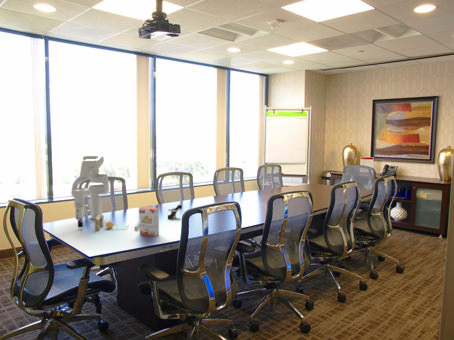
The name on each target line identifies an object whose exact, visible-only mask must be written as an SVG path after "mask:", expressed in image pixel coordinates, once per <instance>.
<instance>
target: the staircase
mask: <svg viewBox="0 0 454 340" xmlns="http://www.w3.org/2000/svg"><path fill="white" fill-rule="evenodd" d="M182 206H183V205H181V204H177V206H176V207H174V208H171V209H170V208H169V209H167V212H170V214H168V215H167V219H168V220H172V219H174V218H176V217H177V212H179V211H182V210H183V207H182Z"/></svg>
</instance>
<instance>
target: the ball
mask: <svg viewBox="0 0 454 340" xmlns="http://www.w3.org/2000/svg"><path fill="white" fill-rule="evenodd" d="M105 226H106V228H107V229H111V228H112V227H113V226H115V225H114V222H113V221H111V220H109V221H107V222H106V224H105Z"/></svg>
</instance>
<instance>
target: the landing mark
mask: <svg viewBox="0 0 454 340" xmlns="http://www.w3.org/2000/svg"><path fill="white" fill-rule="evenodd" d="M128 228H129V225H127V224H126V225H114V226H113V227H112V228H109V230H110V231H117V230H118V231H120V230H121V231H122V230H127V229H128Z"/></svg>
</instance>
